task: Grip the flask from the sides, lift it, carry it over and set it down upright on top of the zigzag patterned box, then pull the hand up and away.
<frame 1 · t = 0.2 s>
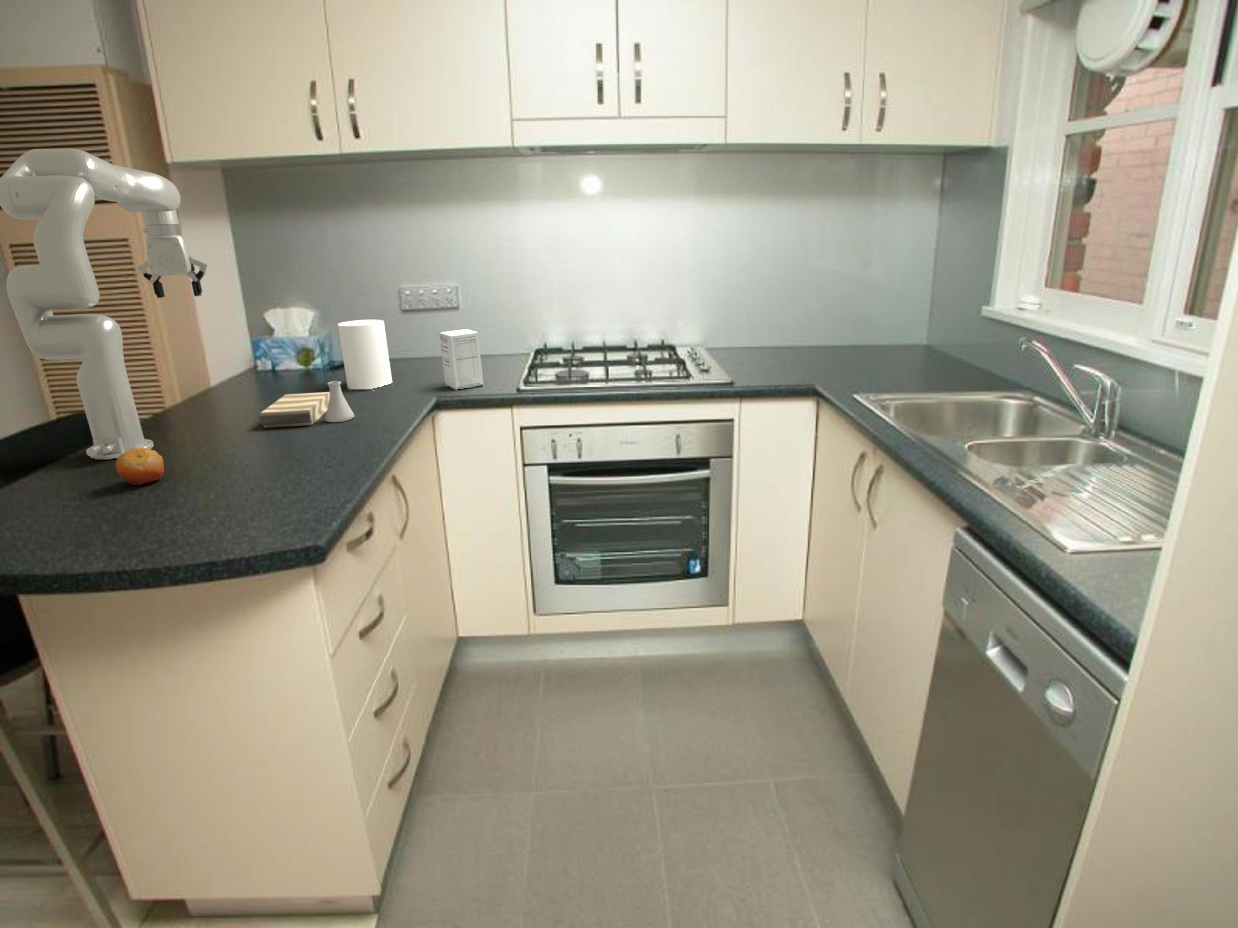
hand: (179, 296, 198), 31 cm above the worktop, tool pointing down, fingers open, 9 cm apart
canister: (370, 386, 225), on the worktop
flask: (340, 420, 188), on the worktop
fruit: (144, 483, 145), on the worktop
zigzag patterned box: (299, 416, 192), on the worktop
supplement box: (464, 386, 221), on the worktop
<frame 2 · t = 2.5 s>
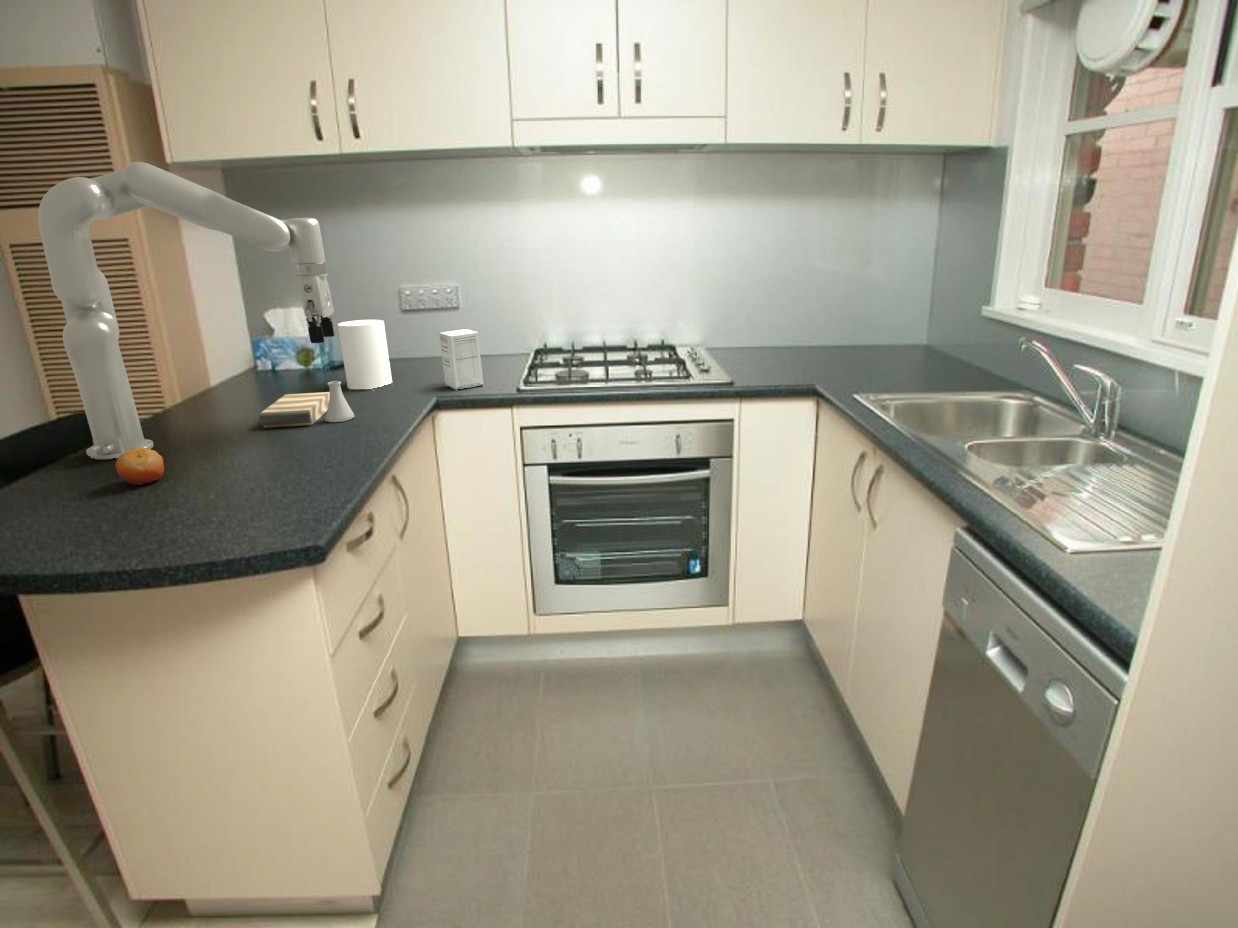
hand: (323, 339, 181), 21 cm above the worktop, tool pointing down, fingers open, 9 cm apart
nothing on the worktop moved.
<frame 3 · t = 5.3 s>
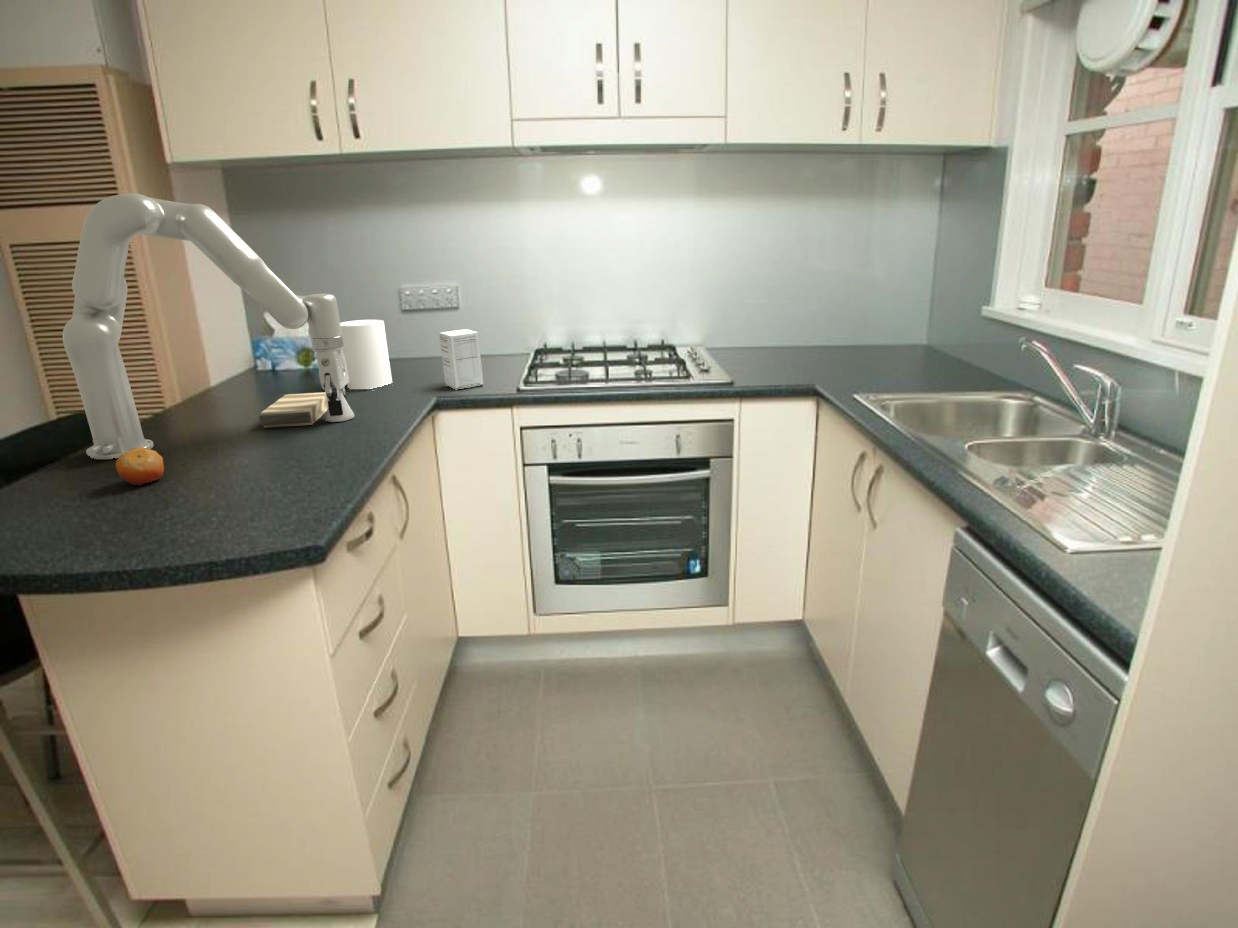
hand: (339, 412, 187), 2 cm above the worktop, tool pointing down, fingers closed on flask, 4 cm apart
flask: (340, 419, 188), on the worktop, touching gripper
everything else where it was.
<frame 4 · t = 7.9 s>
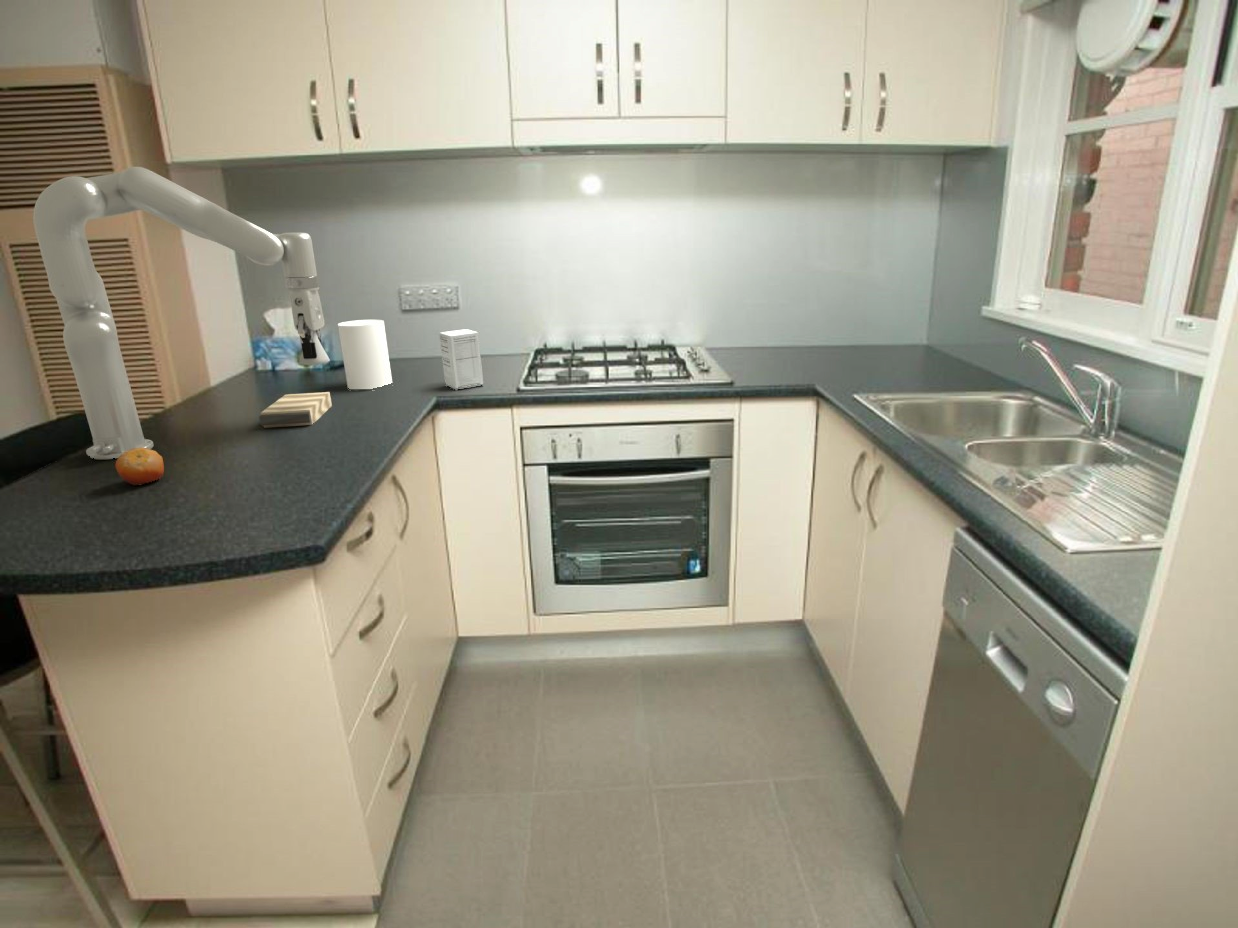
hand: (313, 355, 184), 17 cm above the worktop, tool pointing down, fingers closed on flask, 4 cm apart
flask: (315, 364, 184), point 15 cm above the worktop, touching gripper
everything else where it was.
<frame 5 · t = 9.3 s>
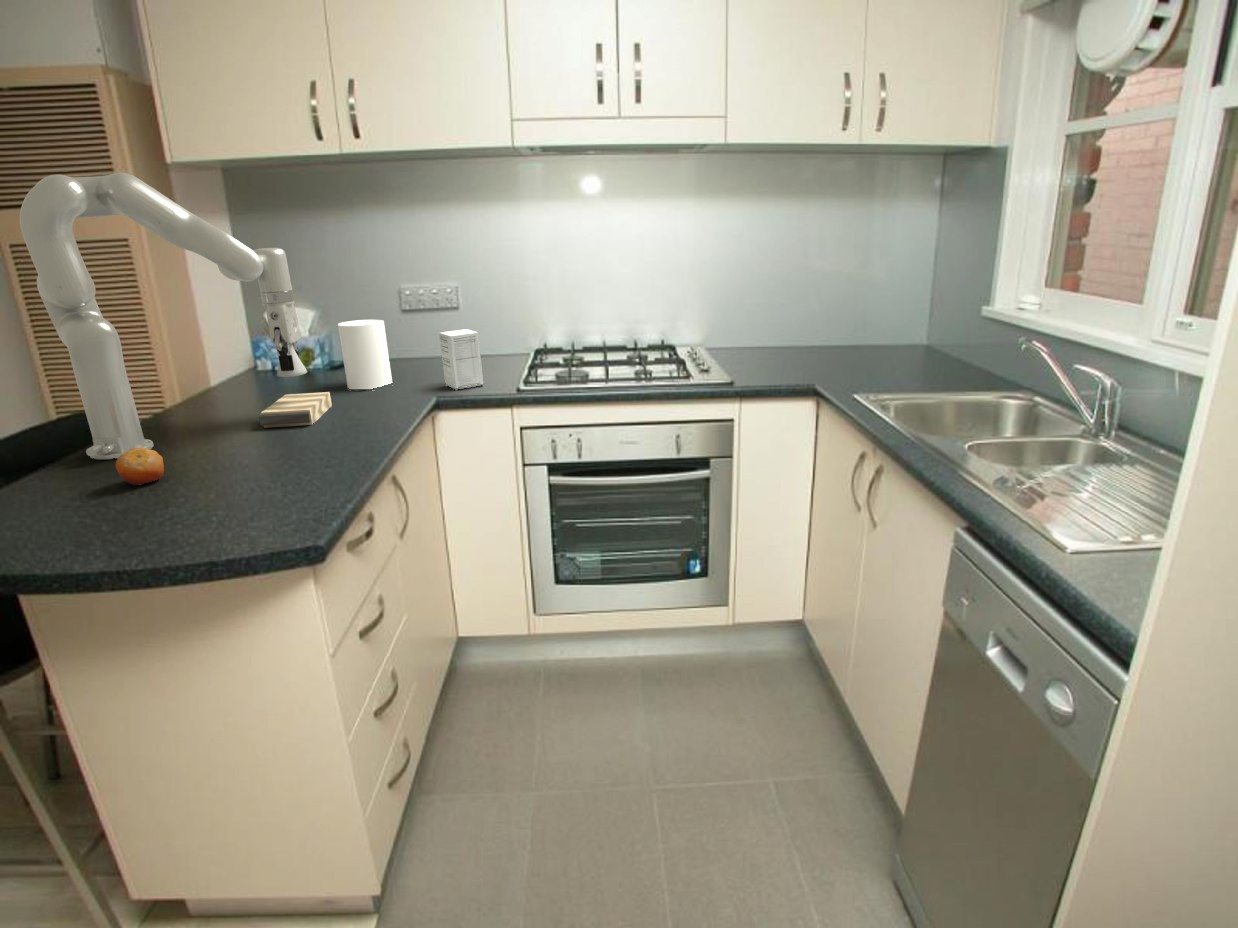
hand: (291, 367, 188), 13 cm above the worktop, tool pointing down, fingers closed on flask, 4 cm apart
flask: (292, 375, 188), point 11 cm above the worktop, touching gripper
everything else where it was.
when the fingers open (8 cm above the worktop, at t = 10.6 s): flask drops 2 cm, resting on zigzag patterned box.
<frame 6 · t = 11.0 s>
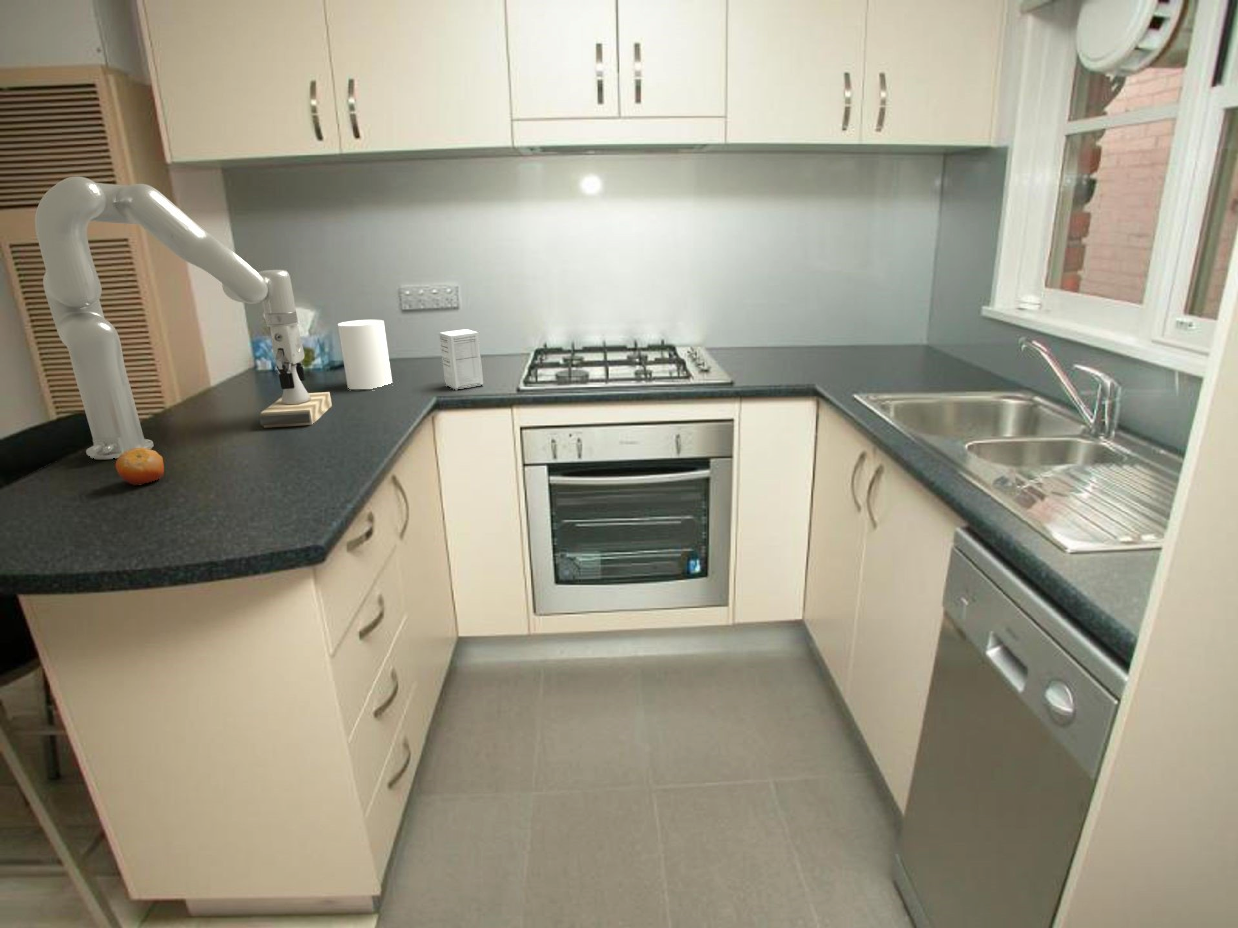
hand: (293, 384, 189), 9 cm above the worktop, tool pointing down, fingers open, 9 cm apart
flask: (296, 402, 191), point 4 cm above the worktop, touching zigzag patterned box
everything else where it was.
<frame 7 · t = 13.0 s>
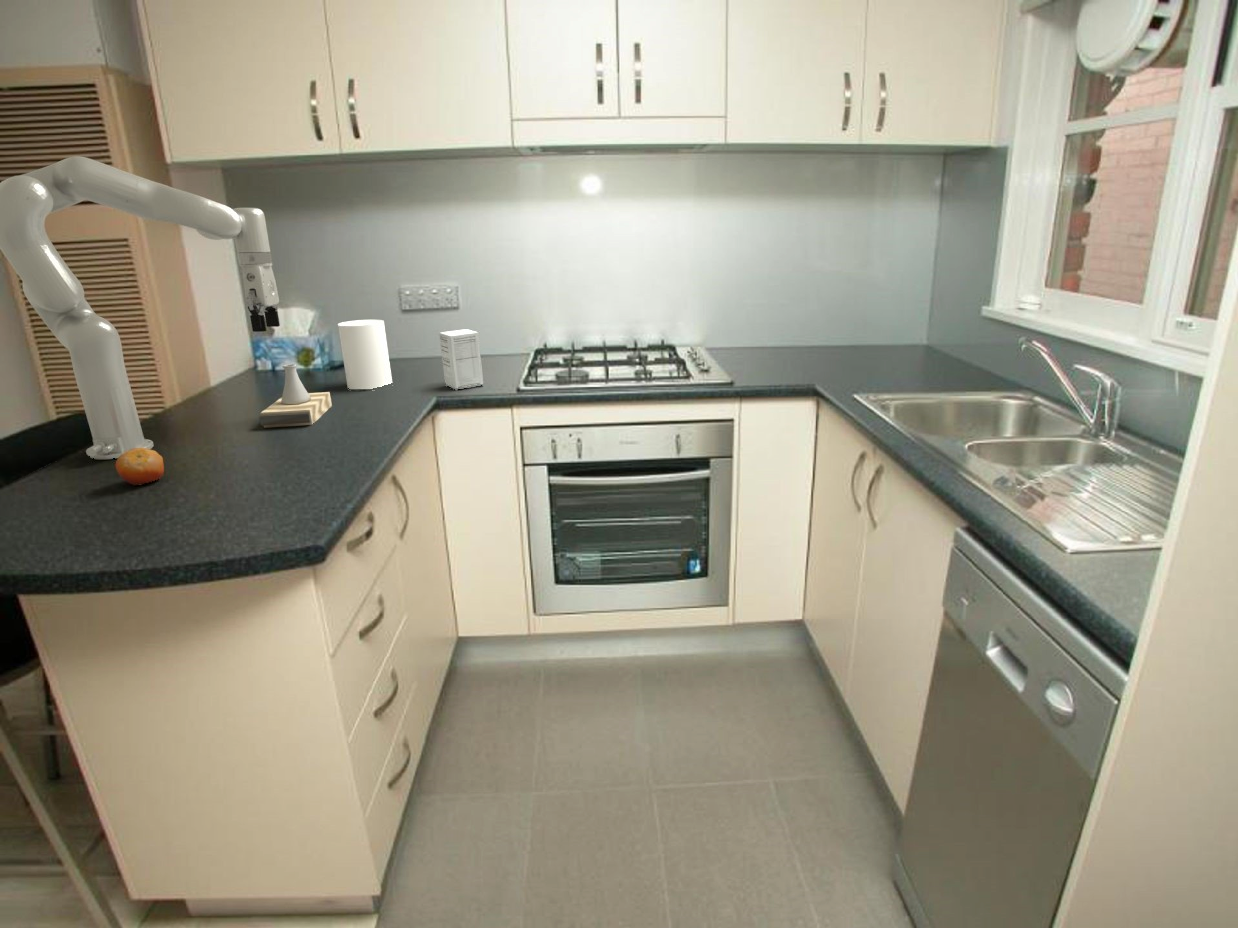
hand: (266, 329, 183), 24 cm above the worktop, tool pointing down, fingers open, 9 cm apart
nothing on the worktop moved.
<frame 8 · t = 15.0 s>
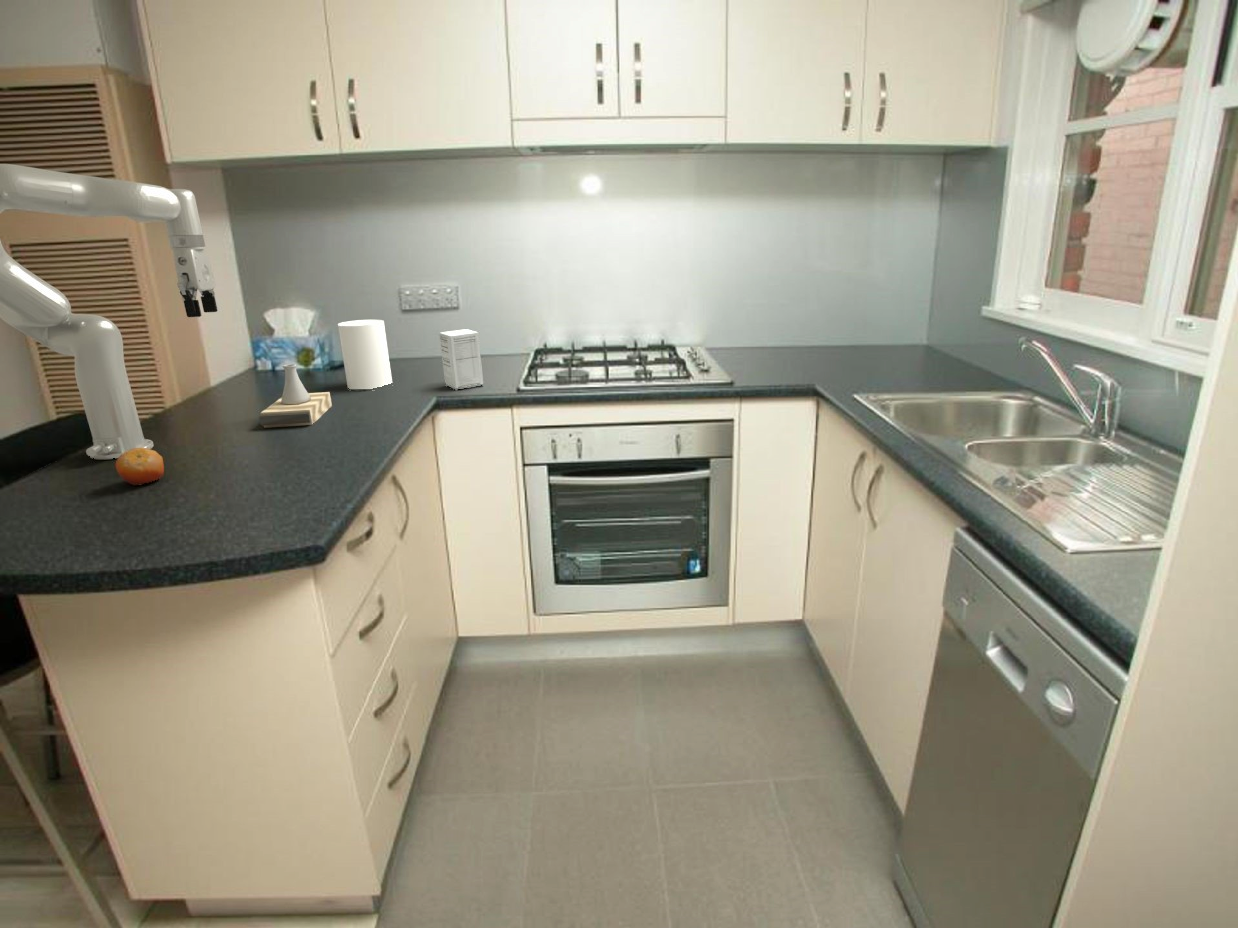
hand: (202, 314, 179), 28 cm above the worktop, tool pointing down, fingers open, 9 cm apart
nothing on the worktop moved.
at the end: flask inside the target area on the zigzag patterned box (0.1 cm from its centre), point 3.8 cm above the zigzag patterned box's base; flask tilted 0°; the gripper is holding nothing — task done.
